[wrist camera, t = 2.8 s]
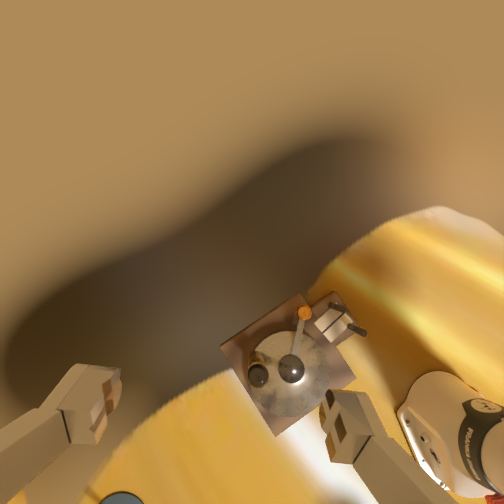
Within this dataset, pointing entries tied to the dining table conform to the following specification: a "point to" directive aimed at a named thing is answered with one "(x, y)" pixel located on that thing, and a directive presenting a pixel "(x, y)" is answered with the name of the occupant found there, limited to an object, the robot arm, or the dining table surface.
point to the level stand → (317, 327)
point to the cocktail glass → (122, 499)
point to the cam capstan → (289, 370)
